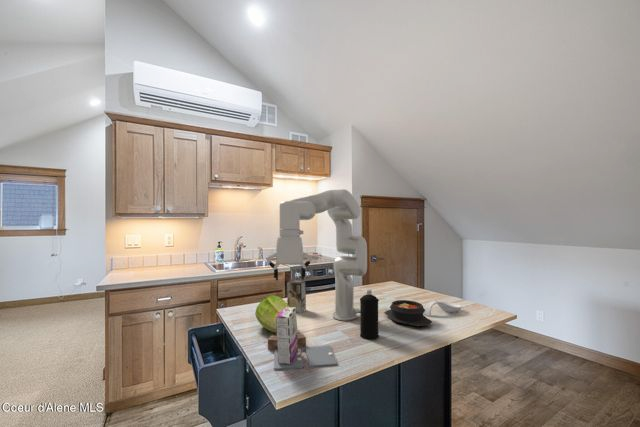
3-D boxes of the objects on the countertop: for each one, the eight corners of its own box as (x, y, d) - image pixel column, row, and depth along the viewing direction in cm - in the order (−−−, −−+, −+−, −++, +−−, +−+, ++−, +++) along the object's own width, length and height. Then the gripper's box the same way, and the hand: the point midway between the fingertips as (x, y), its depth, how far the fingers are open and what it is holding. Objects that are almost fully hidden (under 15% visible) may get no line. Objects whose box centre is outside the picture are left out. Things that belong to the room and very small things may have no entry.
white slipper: (447, 306, 165) (447, 294, 165) (466, 312, 154) (466, 299, 154) (418, 313, 154) (418, 299, 154) (436, 319, 143) (436, 305, 144)
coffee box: (306, 309, 158) (306, 281, 159) (301, 313, 152) (301, 283, 153) (291, 307, 162) (291, 279, 162) (286, 311, 156) (286, 282, 156)
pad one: (330, 347, 112) (330, 345, 112) (337, 365, 98) (337, 362, 98) (305, 348, 110) (305, 346, 110) (309, 367, 97) (309, 365, 97)
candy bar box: (285, 349, 109) (284, 306, 109) (298, 349, 108) (296, 306, 108) (277, 364, 98) (275, 316, 98) (291, 364, 97) (289, 316, 97)
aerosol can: (374, 341, 117) (374, 293, 118) (356, 337, 122) (356, 290, 122) (381, 334, 124) (381, 289, 125) (364, 330, 129) (364, 286, 129)
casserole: (440, 325, 136) (440, 307, 136) (415, 333, 126) (415, 314, 126) (400, 310, 157) (400, 295, 157) (376, 316, 147) (376, 300, 147)
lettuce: (305, 342, 127) (274, 357, 118) (279, 310, 145) (250, 321, 136) (308, 316, 122) (276, 329, 113) (281, 286, 140) (251, 296, 131)
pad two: (300, 349, 110) (300, 347, 110) (303, 367, 96) (303, 365, 96) (274, 351, 109) (274, 348, 109) (274, 370, 95) (274, 367, 95)
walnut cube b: (280, 346, 113) (280, 336, 113) (277, 350, 109) (277, 340, 109) (271, 345, 114) (271, 335, 114) (267, 349, 110) (267, 339, 110)
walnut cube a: (302, 343, 116) (302, 333, 116) (305, 347, 112) (305, 337, 112) (293, 344, 114) (293, 335, 114) (296, 349, 111) (296, 338, 111)
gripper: (311, 232, 111) (311, 276, 111) (266, 233, 108) (266, 278, 108) (313, 234, 104) (313, 280, 103) (266, 234, 101) (266, 282, 101)
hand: (289, 279), depth 106 cm, fingers open, 9 cm apart
